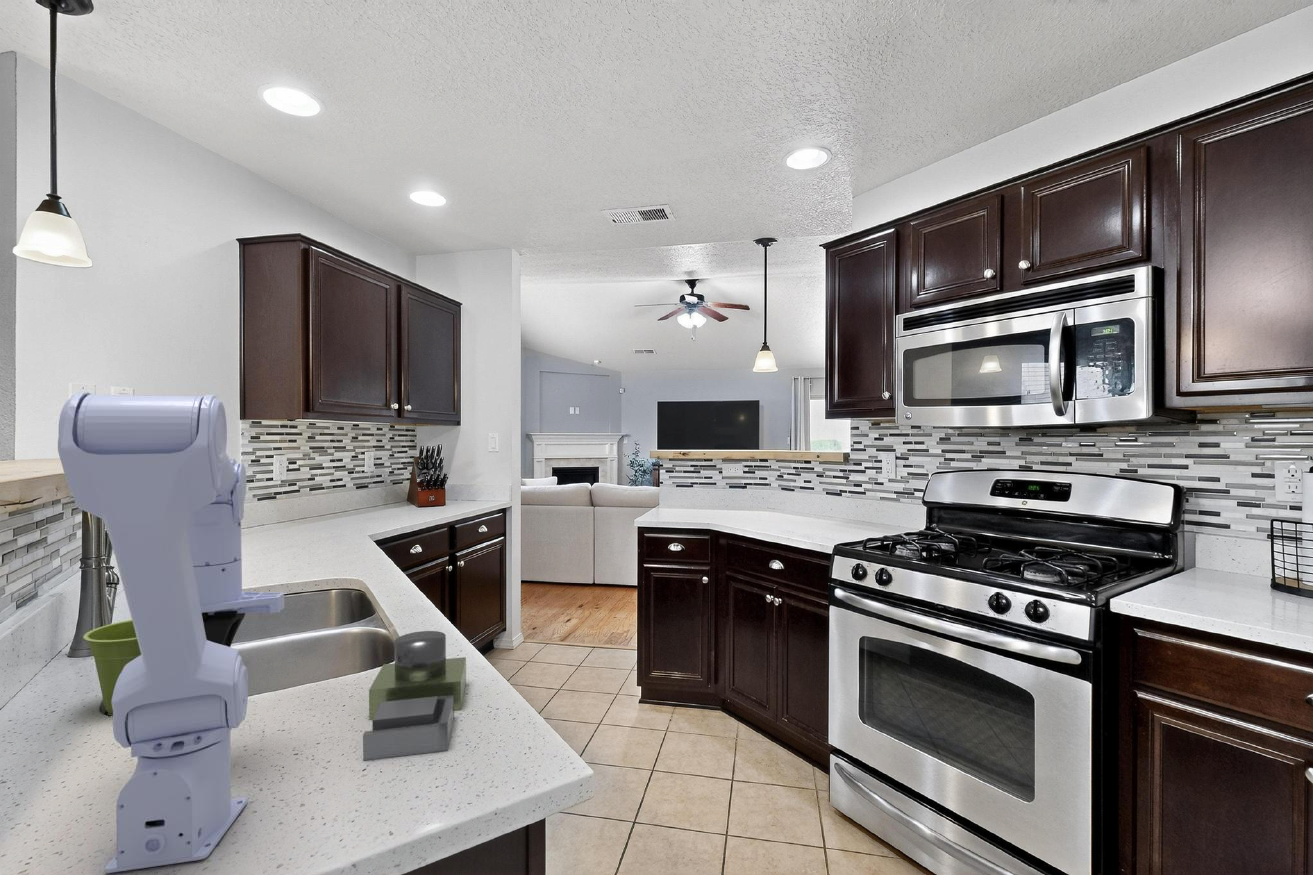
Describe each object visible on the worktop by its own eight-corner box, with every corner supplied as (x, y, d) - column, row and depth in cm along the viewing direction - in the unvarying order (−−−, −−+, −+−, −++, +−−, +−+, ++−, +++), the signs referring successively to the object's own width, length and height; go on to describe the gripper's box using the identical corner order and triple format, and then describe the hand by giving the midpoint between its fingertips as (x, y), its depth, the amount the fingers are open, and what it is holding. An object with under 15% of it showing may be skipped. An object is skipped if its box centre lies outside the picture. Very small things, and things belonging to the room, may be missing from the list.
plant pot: (64, 728, 83) (64, 644, 83) (109, 694, 94) (109, 620, 94) (170, 715, 87) (170, 634, 87) (201, 684, 98) (201, 612, 98)
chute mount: (453, 749, 76) (452, 676, 76) (347, 762, 73) (346, 685, 73) (466, 682, 97) (465, 625, 97) (383, 690, 94) (383, 631, 95)
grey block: (433, 745, 78) (432, 713, 78) (372, 753, 76) (372, 720, 76) (438, 726, 83) (437, 696, 83) (381, 732, 81) (381, 702, 81)
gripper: (292, 551, 79) (293, 657, 79) (159, 556, 75) (161, 667, 76) (271, 563, 72) (273, 680, 72) (124, 570, 68) (127, 692, 69)
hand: (214, 675), depth 73 cm, fingers closed
